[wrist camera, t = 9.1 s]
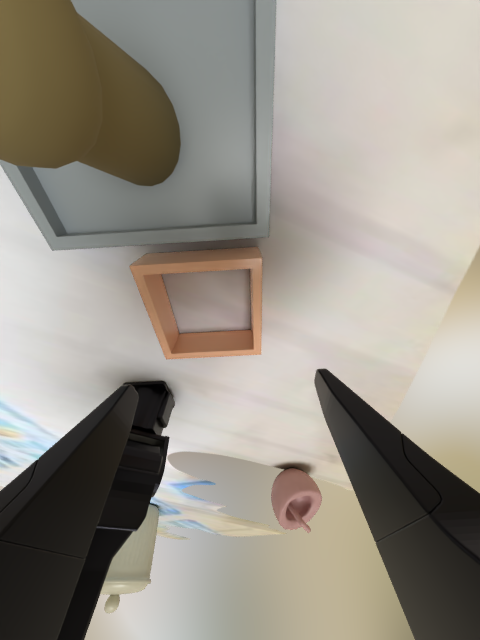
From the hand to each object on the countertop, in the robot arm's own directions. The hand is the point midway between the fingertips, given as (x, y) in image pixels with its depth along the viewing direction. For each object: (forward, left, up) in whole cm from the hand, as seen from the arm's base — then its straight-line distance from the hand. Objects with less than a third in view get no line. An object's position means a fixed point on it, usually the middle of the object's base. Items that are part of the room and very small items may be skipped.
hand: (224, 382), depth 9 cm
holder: (-2, -2, -13) cm, 13 cm away
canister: (-39, -85, -13) cm, 94 cm away
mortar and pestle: (+12, -55, -13) cm, 57 cm away
